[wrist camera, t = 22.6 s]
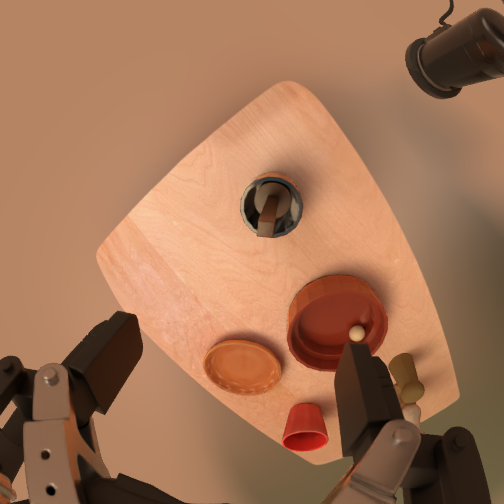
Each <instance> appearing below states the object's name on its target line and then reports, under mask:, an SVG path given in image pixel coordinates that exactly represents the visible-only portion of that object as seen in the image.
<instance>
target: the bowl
mask: <svg viewBox="0 0 504 504" xmlns="http://www.w3.org/2000/svg"><path fill="white" fill-rule="evenodd" d="M356 325H359V326H362V327H363V328H364V330H365V336H364V338H363V339H362V340H360V341H353V340H352V339H351V338H350V336H349V332H350V329H351V328H352V327H354V326H356ZM387 330H388V317H387V315H386V312H385V310H384V307H383V305H382V303H381V302H380V300H379V298H378V296H377V294H376V293H375V291H374V290H373V289H372V288H371V287H370V286H369V285H368V284H367V283H366V282H365V281H363V280H361V279H358V278H356V277H354V276H347V275H332V276H327V277H322V278H320V279H318V280H316V281H314V282H312V283H310V284H308V285H306V286H305V287H304V288H303V289H302V290H301V291H300V292H299V293H298V294H297V295H296V296H295V298H294V300H293V301H292V303H291V305H290V307H289V311H288V317H287V342H288V346H289V350H290V352H291V353H292V354H293V356H294V357H295V358H296V360H297V361H299V362H300V363H302V364H303V365H305V366H306V367H308V368H311V369H315V370H318V371H329V372H336V370H337V367H338V364H339V362H340V359H341V356H342V353H343V350H344V347H345V345H346V343H348V342H351V343H367V344H368V346H369V349H370V352H371V355H373V354H374V353H375V352H376V351H377V350H378V348H379V347H380V346H381V345H382V343H383V341H384V338H385V336H386V333H387Z"/></svg>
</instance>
